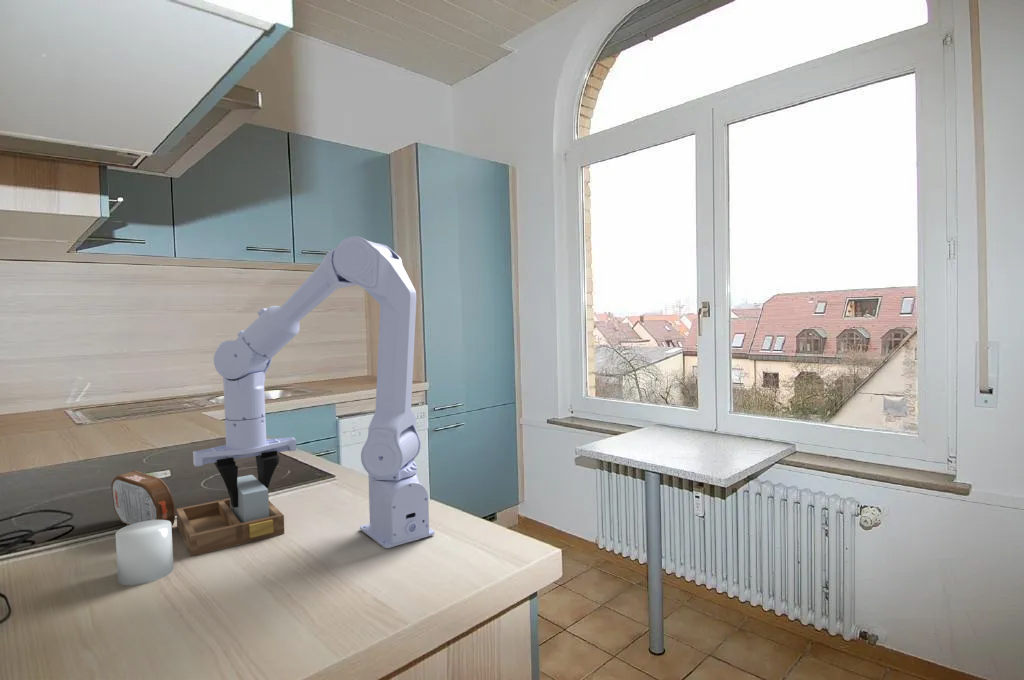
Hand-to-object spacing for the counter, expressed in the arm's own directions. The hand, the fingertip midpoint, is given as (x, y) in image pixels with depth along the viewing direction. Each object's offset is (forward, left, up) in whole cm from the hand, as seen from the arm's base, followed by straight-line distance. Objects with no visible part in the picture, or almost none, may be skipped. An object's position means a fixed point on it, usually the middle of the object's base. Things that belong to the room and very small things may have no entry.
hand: (249, 502), depth 87 cm
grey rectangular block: (0, 0, -2) cm, 2 cm away
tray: (0, +3, -4) cm, 5 cm away
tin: (+10, +13, -4) cm, 17 cm away
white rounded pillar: (-9, +14, -4) cm, 17 cm away
